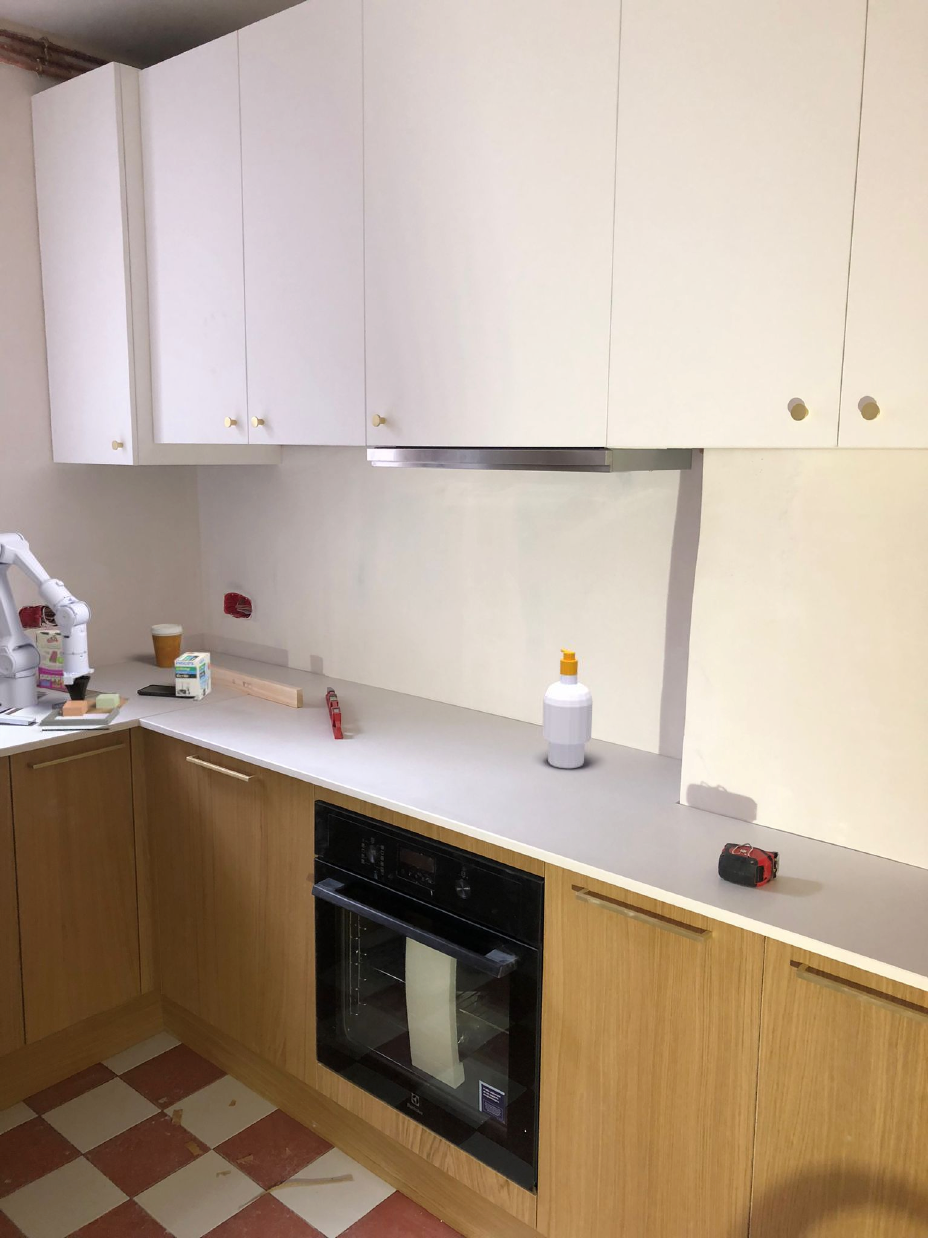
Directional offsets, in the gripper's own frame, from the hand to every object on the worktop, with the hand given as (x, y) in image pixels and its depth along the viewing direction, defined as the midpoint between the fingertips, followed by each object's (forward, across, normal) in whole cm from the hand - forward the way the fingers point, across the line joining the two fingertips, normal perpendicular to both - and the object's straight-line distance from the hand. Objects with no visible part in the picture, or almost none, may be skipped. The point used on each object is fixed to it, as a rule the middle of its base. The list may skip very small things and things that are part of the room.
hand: (78, 706), depth 240 cm
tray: (+2, -8, -3) cm, 9 cm away
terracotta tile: (+1, -3, 0) cm, 3 cm away
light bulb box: (+3, +18, -24) cm, 31 cm away
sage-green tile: (+1, +4, -6) cm, 7 cm away
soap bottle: (+3, -45, -112) cm, 121 cm away
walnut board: (+2, +4, -3) cm, 6 cm away
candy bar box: (+2, +26, +11) cm, 28 cm away
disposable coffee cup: (+2, +56, -11) cm, 57 cm away
